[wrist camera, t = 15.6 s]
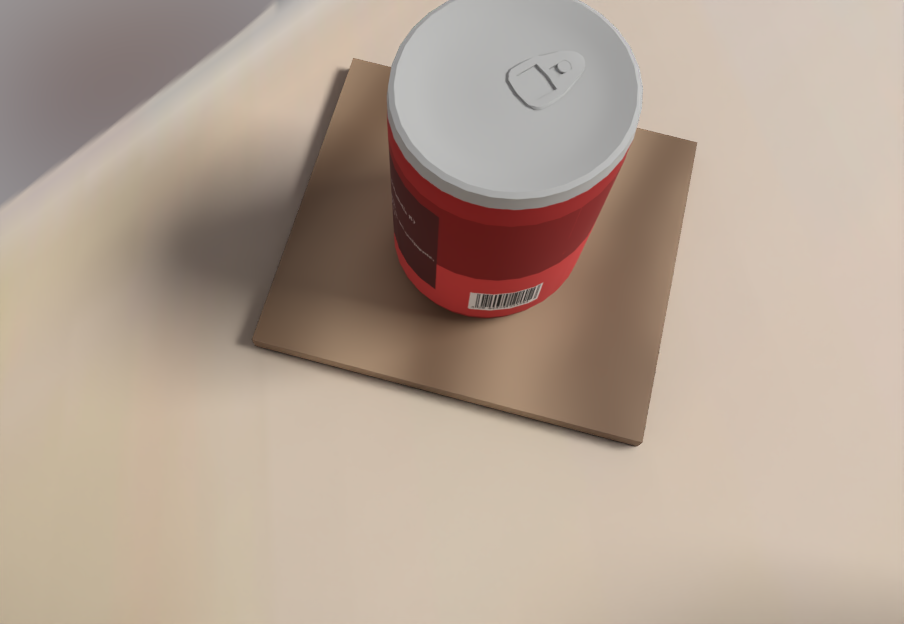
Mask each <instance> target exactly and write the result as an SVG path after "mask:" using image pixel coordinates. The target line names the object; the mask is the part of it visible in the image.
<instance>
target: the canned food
mask: <svg viewBox="0 0 904 624" xmlns="http://www.w3.org/2000/svg"><path fill="white" fill-rule="evenodd" d="M642 94H643V86H642V80H641V75H640V69H639V66H638V63H637V61H636V59H635V56H634V54H633V52H632V49H631V47H630V46H629V44H628V43H627V42H626V40H625V39H624V37H623V36H622V35H621V33H620V32H619V30H618V29H617V28H616V27H615V26H614V25H613V24H611V23H610V22H609V21H608V20H607V19H606V18H605V17H604V16H603V15H602V14H600V13H599V12H597V11H596V10H594V9H593V8H591V7H590V6H588V5H587V4H585V3H584V2H581V1H579V0H449V1H447V2H445V3H444V4H442V5H441V6H439V7H437V8H436V9H434V10H433V11H431V12H430V13H428V14H427V15H426V16H425V17H424V18H423V19H422V20H421V21H420V22H419V23H417V24H416V25H415V26H414V27H413V28H412V30H411V31H410V32H409V34H408V35H407V37H406V38H405V39H404V41H403V42H402V44H401V45H400V47H399V49H398V52H397V54H396V56H395V59H394V61H393V63H392V66H391V72H390V78H389V84H388V91H387V97H386V98H387V128H388V144H389V160H390V177H391V193H392V209H393V225H394V241H395V249H396V252H397V255H398V259H399V262H400V264H401V266H402V268H403V270H404V271H405V273H406V275H407V277H408V278H409V280H410V281H411V282H412V283H413V284H414V285H415V286H416V288H417V289H418V290H419V291H420V292H421V293H422V294H424V295H425V296H426V297H428V298H429V299H430V300H432V301H433V302H434V303H436V304H437V305H439V306H441V307H443V308H445V309H447V310H449V311H451V312H454V313H457V314H461V315H464V316H468V317H478V318H495V317H504V316H508V315H511V314H515V313H518V312H522V311H524V310H527V309H529V308H531V307H533V306H535V305H537V304H538V303H540V302H542V301H544V300H545V299H546V298H548V297H549V296H550V295H551V294H553V293H554V292H555V291H557V290H558V288H559V287H560V286H561V285H562V284H563V283H564V282H565V280H566V279H567V278H568V277H569V275H570V273H571V271H572V270H573V268H574V266H575V264H576V262H577V260H578V258H579V256H580V254H581V252H582V250H583V248H584V246H585V243H586V241H587V239H588V237H589V235H590V233H591V231H592V229H593V226H594V224H595V222H596V220H597V218H598V216H599V214H600V211H601V209H602V207H603V205H604V203H605V201H606V199H607V197H608V194H609V192H610V190H611V188H612V186H613V184H614V182H615V180H616V177H617V175H618V173H619V171H620V169H621V167H622V165H623V163H624V160H625V158H626V155H627V152H628V150H629V148H630V146H631V143H632V141H633V139H634V135H635V132H636V129H637V125H638V122H639V116H640V113H641V109H642Z"/></svg>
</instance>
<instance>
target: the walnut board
mask: <svg viewBox="0 0 904 624" xmlns="http://www.w3.org/2000/svg"><path fill="white" fill-rule="evenodd" d="M390 72H391V67H388V66H384V65H380V64H376V63H372V62H368V61H363V60H359V59H355V58H353V60H352V63H351V66H350V69H349V71H348V74H347V77H346V80H345V83H344V85H343V88H342V91H341V94H340V96H339V99H338V102H337V105H336V108H335V110H334V113H333V116H332V119H331V121H330V124H329V127H328V130H327V132H326V135H325V138H324V141H323V144H322V146H321V149H320V152H319V155H318V157H317V160H316V163H315V166H314V168H313V171H312V174H311V177H310V180H309V182H308V185H307V188H306V191H305V193H304V196H303V199H302V202H301V205H300V207H299V210H298V213H297V216H296V218H295V221H294V224H293V227H292V229H291V232H290V235H289V238H288V241H287V243H286V246H285V249H284V252H283V254H282V257H281V260H280V263H279V266H278V268H277V271H276V274H275V277H274V279H273V282H272V285H271V288H270V290H269V293H268V296H267V299H266V302H265V304H264V307H263V310H262V313H261V315H260V318H259V321H258V324H257V327H256V329H255V332H254V335H253V338H252V341H253V343H254V344H255V346H259V347H262V348H266V349H270V350H274V351H278V352H281V353H285V354H289V355H293V356H297V357H300V358H304V359H308V360H312V361H316V362H319V363H323V364H327V365H331V366H334V367H338V368H342V369H346V370H350V371H353V372H357V373H361V374H365V375H369V376H372V377H376V378H380V379H384V380H388V381H391V382H395V383H399V384H403V385H406V386H410V387H414V388H418V389H422V390H425V391H429V392H433V393H437V394H441V395H444V396H448V397H452V398H456V399H460V400H463V401H467V402H471V403H475V404H479V405H482V406H486V407H490V408H494V409H497V410H501V411H505V412H509V413H513V414H516V415H520V416H524V417H528V418H532V419H535V420H539V421H543V422H547V423H551V424H554V425H558V426H562V427H566V428H569V429H573V430H577V431H581V432H585V433H588V434H592V435H596V436H600V437H604V438H607V439H611V440H615V441H619V442H623V443H626V444H630V445H634V446H638V445H640V444H641V443H642V441H643V436H644V430H645V425H646V419H647V414H648V409H649V403H650V398H651V392H652V387H653V381H654V376H655V370H656V365H657V359H658V354H659V348H660V343H661V337H662V332H663V326H664V321H665V316H666V310H667V305H668V299H669V294H670V288H671V283H672V277H673V272H674V266H675V261H676V255H677V250H678V244H679V239H680V234H681V228H682V223H683V217H684V212H685V206H686V201H687V195H688V190H689V184H690V179H691V173H692V168H693V162H694V157H695V151H696V146H697V142H693V141H689V140H685V139H681V138H677V137H673V136H669V135H664V134H660V133H656V132H652V131H648V130H644V129H640V128H637V129H636V132H635V135H634V139H633V141H632V143H631V146H630V148H629V150H628V152H627V155H626V158H625V160H624V163H623V165H622V167H621V169H620V171H619V173H618V175H617V177H616V180H615V182H614V184H613V186H612V188H611V190H610V192H609V194H608V197H607V199H606V201H605V203H604V205H603V207H602V209H601V211H600V214H599V216H598V218H597V220H596V222H595V224H594V226H593V229H592V231H591V233H590V235H589V237H588V239H587V241H586V243H585V246H584V248H583V250H582V252H581V254H580V256H579V258H578V260H577V262H576V264H575V266H574V268H573V270H572V271H571V273H570V275H569V277H568V278H567V279H566V280H565V282H564V283H563V284H562V285H561V286H560V287H559V288H558V290H557V291H555V292H554V293H553V294H551V295H550V296H549V297H548V298H546V299H545V300H544V301H542V302H540V303H538V304H537V305H535V306H533V307H531V308H529V309H527V310H524V311H522V312H518V313H515V314H511V315H508V316H504V317H495V318H478V317H468V316H464V315H461V314H457V313H454V312H451V311H449V310H447V309H445V308H443V307H441V306H439V305H437V304H436V303H434V302H433V301H432V300H430V299H429V298H428V297H426V296H425V295H424V294H422V293H421V292H420V291H419V290H418V289H417V288H416V286H415V285H414V284H413V283H412V282H411V281H410V280H409V278H408V277H407V275H406V273H405V271H404V270H403V268H402V266H401V264H400V262H399V259H398V255H397V252H396V249H395V241H394V225H393V209H392V193H391V177H390V160H389V144H388V128H387V98H386V97H387V91H388V84H389V78H390Z"/></svg>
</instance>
